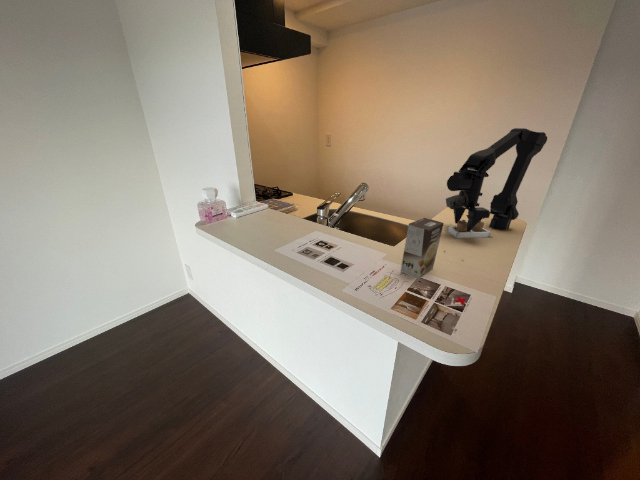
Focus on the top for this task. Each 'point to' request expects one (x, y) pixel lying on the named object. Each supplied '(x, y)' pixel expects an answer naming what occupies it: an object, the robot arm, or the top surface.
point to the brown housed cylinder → (478, 227)
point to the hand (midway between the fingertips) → (462, 227)
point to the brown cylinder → (461, 226)
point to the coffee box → (421, 247)
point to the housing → (467, 233)
